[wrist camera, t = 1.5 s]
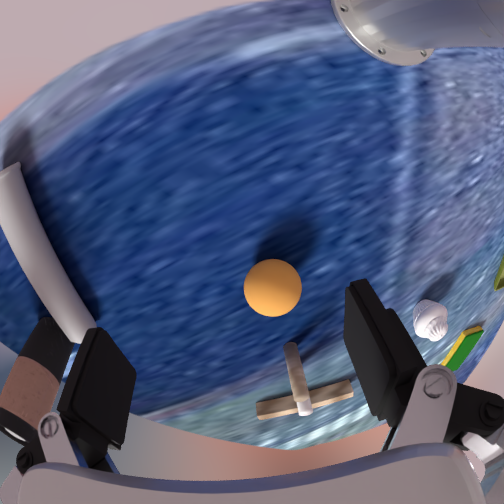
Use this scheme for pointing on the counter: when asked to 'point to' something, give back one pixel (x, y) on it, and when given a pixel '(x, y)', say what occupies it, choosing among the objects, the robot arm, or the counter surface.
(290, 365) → the birch pin
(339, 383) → the rail
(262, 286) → the ball
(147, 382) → the counter surface
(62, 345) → the travel mug
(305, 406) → the white pin
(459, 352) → the dish sponge
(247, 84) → the counter surface
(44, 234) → the tube
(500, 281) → the olive square dish
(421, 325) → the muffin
